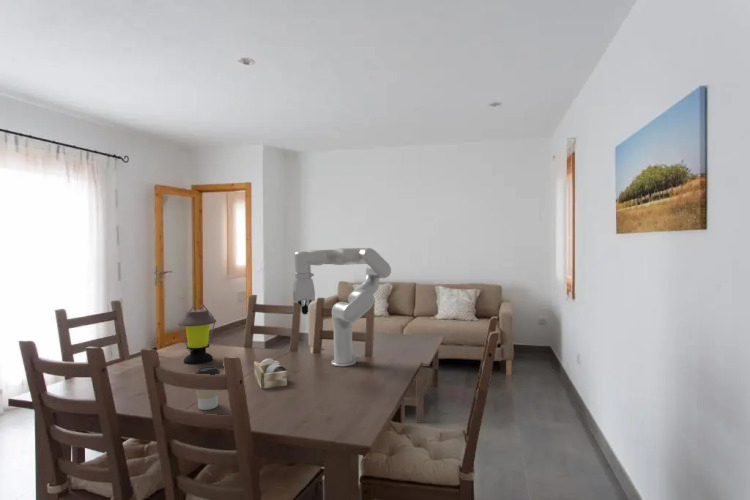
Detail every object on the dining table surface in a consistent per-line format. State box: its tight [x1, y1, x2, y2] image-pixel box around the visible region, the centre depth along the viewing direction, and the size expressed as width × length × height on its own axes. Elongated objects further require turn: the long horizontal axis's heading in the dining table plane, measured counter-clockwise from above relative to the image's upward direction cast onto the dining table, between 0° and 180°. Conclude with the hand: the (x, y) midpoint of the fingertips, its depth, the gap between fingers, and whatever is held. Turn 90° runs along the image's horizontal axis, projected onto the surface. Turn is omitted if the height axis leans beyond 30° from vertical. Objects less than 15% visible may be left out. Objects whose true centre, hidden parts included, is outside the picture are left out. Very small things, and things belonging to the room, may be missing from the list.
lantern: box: [177, 304, 217, 365], centre depth 239 cm, size 25×19×30 cm
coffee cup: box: [194, 365, 221, 411], centre depth 170 cm, size 9×9×15 cm
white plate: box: [260, 358, 276, 365], centre depth 208 cm, size 8×1×8 cm, turn 114°
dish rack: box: [253, 360, 288, 390], centre depth 201 cm, size 11×20×7 cm, turn 23°
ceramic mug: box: [266, 364, 288, 374], centre depth 199 cm, size 11×8×8 cm
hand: (305, 313), depth 217 cm, fingers closed
